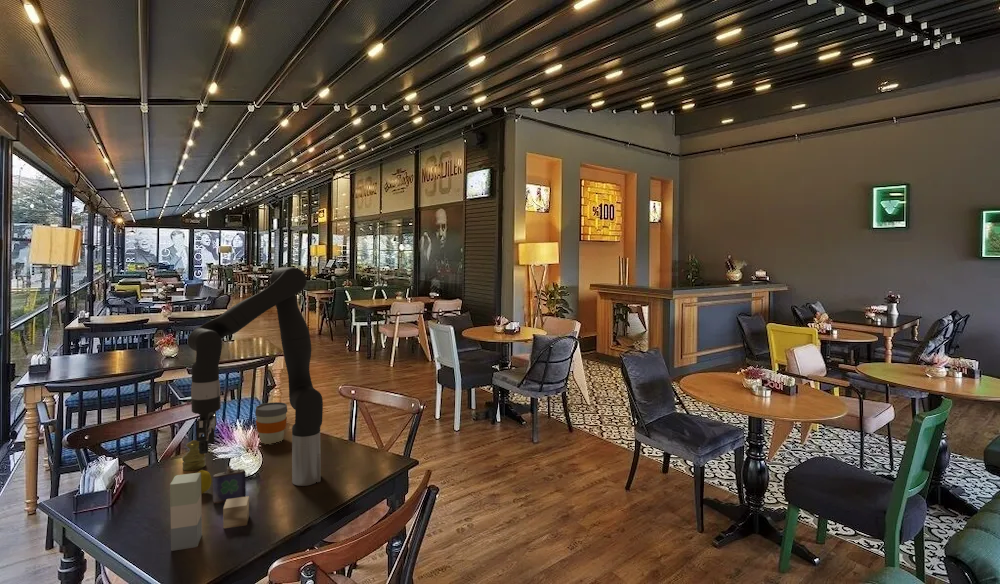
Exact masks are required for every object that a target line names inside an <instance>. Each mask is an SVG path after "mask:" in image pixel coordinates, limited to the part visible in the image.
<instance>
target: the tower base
mask: <svg viewBox="0 0 1000 584" xmlns="http://www.w3.org/2000/svg"><path fill="white" fill-rule="evenodd" d="M202 516H203V514H202V515H201V517H200V519H199V522H198V524H197V525H195V526H188V527H181V528H174V529H171V528H170V549H171V552H173V551H178V550H179V551H181V550H185V549H192V548H193V549H194V548H198V547H199V543H200V541H201V538H202V536H203V522H202V521H203V520H202Z"/></svg>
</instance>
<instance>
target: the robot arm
mask: <svg viewBox="0 0 1000 584" xmlns="http://www.w3.org/2000/svg"><path fill="white" fill-rule="evenodd" d="M306 285H307V276H306V274H305V272H304V271H303V270H302V269H300V268H298V267H291V266H290V267H288V266H287V267H286V266H282V267H277V268H275V270H273V271H272V273H271V274H270V277H269V286H267V287H265V288H264V289H262V290H261V291H260V292H257V293H255V294H254V295H251V296H250V297H247V298H245V299H243V300H241V301H240V302H237V303H236V304H234V305H233V306H232V307H230V308H229V309H227V310H226V311H223V313H221V314H220V315H219V316H218V317H215V318H213V319H212V320H209V321H207V322H205V323H203V324H201V325H200V326H198V327H196V328H195V329H193V331H191V332H190V334H189V335H188V337H187V345H188V347H189V348H190V349H191V350H193V351H195V353H196V354H195V362H193V363H192V365H191V386H190V395H191V398H190V399H191V412H192V413H193V414H195V415H196V414H197V415H199V418H197V420H196V421H195V430H196V432H195V434H196V436H195V437H196V438H195V440H196V441H198V442H199V447H198V449H199V453H200V454H208V453H209V444H210V445H211V444H214V443H215V430H216V427H217V425H218V424H217V411H220V410H221V406H222V405H221V402H222V401H221V383H220V370H219V369H220V368H219V365H220V361H221V355H222V349H223V343H222V342H223V341H222V339H223V338H225V337H227V336H232V335H234V334H237V333H238V332H239V331H240V330H242V329H243V328H244V327H247V325H249V324H250V323H251V322H253V321H254V320H255V319H257V318H258V317H260V316H261V315H263V314H264V313H266V312H267V311H268V310H270V309H272V308H273V307H276V313H277V319H278V320H277V321H278V327H279V332H280V341H281V346H282V352H283V357H284V362H285V363H284V364H285V367H286V371H287V377H288V378H287V379H288V398H289V403H290V406H291V407H292V408H293V410H294V411H295V414H294V417H295V418H294V424H293V425H292V427H291V449H292V450H291V454H292V455H291V466H292V467H291V474H292V475H291V482H292V483H291V484H293V485H295V486H299V487H301V486H302V487H304V486H305V487H307V486H312V485H315V484H316V482H317V483H321V426H322V424H323V415H324V414H323V413H324V412H323V411H324V408H323V407H324V401H323V397H322V396H323V395H322V394H321V393H320V391H318V389H315V388H314V386H313V382H312V378H311V373H310V365H311V358H312V357H311V356H312V341H311V335H310V330H309V327H308V324H307V322H306V320H305V319H304V316H303V314H302V312H301V310H300V308H299V305H298V300H297V294H299V293H301V292H302V291H303V290H304V289H305V288H306ZM202 435H203V436H202Z"/></svg>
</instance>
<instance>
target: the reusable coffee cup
mask: <svg viewBox="0 0 1000 584" xmlns="http://www.w3.org/2000/svg"><path fill="white" fill-rule="evenodd" d="M287 413H288V405H287V403H285V402H277V401H274V402H266V403H261V404H259V405H257V406H256V407H255V413H254V414H255V417H256V420H255V424H256V431H257V432H258V437H259V436H260V438H259V440H260V439H261V442H262V443H265V444H264V445H266V444H269V445H272V444H271V443H276V442H279V441H281V442H282V440H284V436H285V435H284V434H285V430H286V427H287V420H288V417H287ZM279 443H280V442H279ZM276 444H277V443H276Z"/></svg>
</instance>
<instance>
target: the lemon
mask: <svg viewBox="0 0 1000 584" xmlns="http://www.w3.org/2000/svg"><path fill="white" fill-rule="evenodd" d="M196 473H201V495H203V494H204V493H205V492H207V491H209V489H210V488H211V486H212V483H213V477H212V475H211V473H210V472H209V471H207V470H204V469H201V470H199V471H198V472H196Z"/></svg>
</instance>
